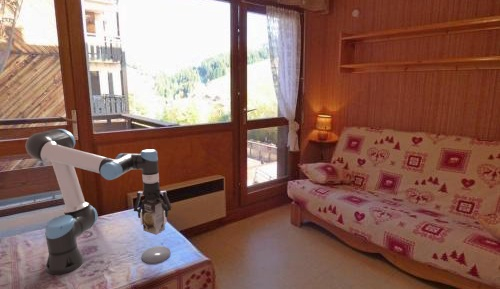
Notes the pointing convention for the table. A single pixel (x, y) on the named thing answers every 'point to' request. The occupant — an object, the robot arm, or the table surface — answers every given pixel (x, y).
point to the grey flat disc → (155, 254)
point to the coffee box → (153, 216)
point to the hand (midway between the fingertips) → (153, 223)
